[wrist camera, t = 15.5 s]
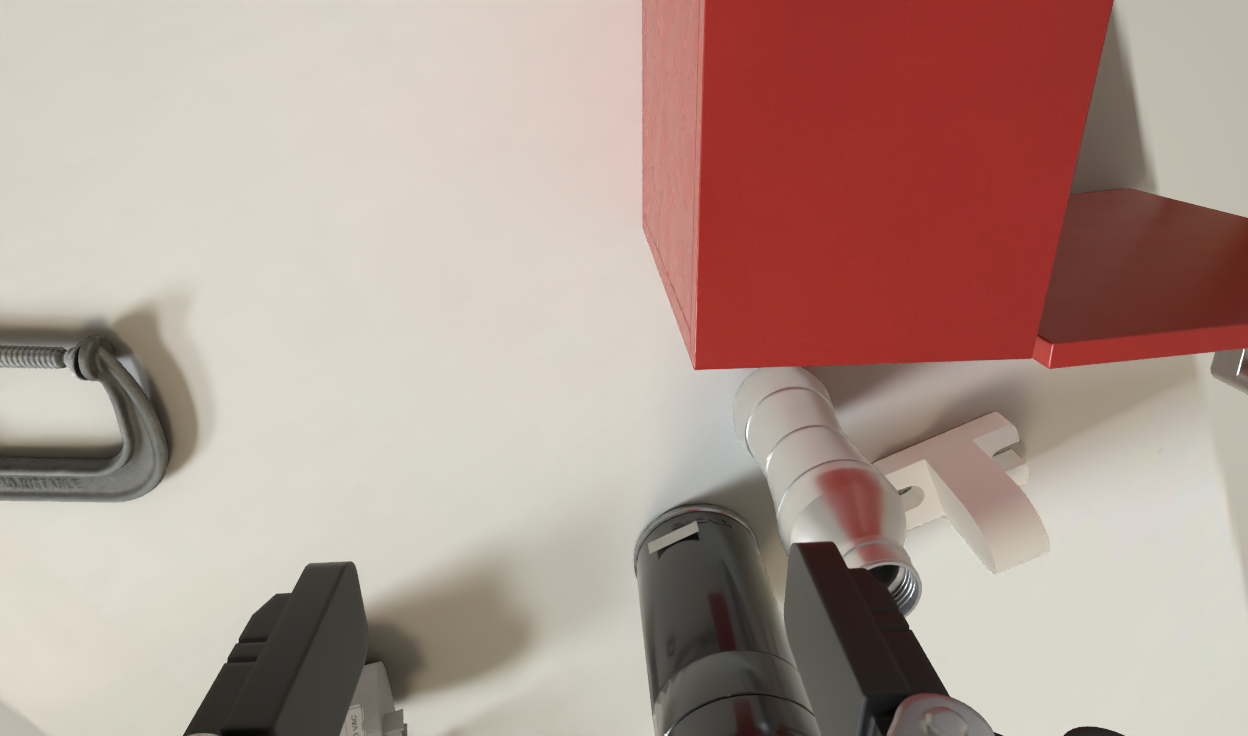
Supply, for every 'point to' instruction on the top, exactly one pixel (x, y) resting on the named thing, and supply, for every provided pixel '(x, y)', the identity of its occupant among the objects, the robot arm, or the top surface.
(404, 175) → the top surface
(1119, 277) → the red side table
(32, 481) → the c clamp
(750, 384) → the plastic bottle
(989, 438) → the cable organizer
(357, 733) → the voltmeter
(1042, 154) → the red upright rectangular box
